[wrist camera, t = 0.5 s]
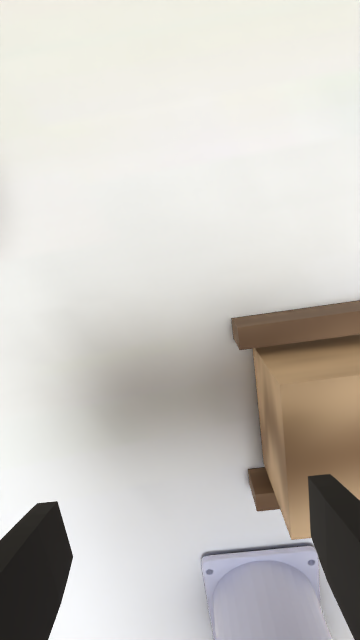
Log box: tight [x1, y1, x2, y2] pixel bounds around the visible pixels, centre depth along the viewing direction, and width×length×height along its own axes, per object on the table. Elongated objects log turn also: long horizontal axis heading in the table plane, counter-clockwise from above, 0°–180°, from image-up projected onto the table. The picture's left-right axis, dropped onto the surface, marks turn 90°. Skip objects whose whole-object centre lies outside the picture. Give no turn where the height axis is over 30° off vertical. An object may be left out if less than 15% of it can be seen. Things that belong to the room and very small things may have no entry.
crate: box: [253, 334, 360, 540], centre depth 15 cm, size 8×8×6 cm
